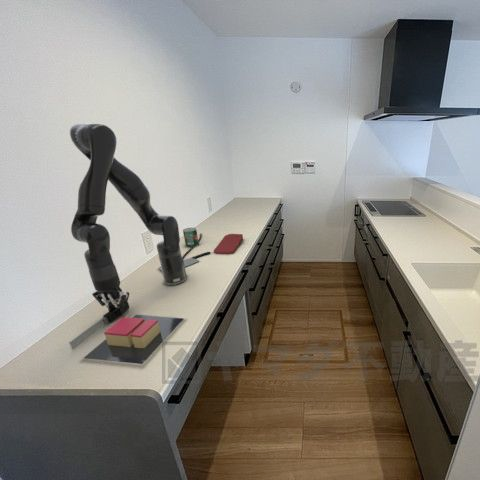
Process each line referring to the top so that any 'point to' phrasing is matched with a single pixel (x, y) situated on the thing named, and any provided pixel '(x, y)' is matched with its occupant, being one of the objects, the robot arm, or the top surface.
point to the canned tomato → (190, 237)
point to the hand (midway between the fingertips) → (117, 314)
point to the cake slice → (145, 333)
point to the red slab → (228, 244)
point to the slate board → (132, 352)
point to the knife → (96, 326)
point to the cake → (123, 331)
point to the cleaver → (191, 260)
